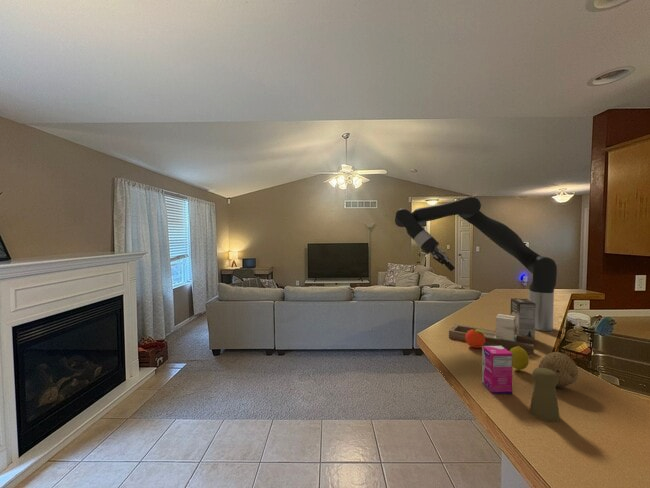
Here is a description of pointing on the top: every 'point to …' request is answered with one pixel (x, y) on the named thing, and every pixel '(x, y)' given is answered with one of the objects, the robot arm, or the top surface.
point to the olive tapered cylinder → (545, 395)
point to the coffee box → (523, 316)
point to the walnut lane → (495, 338)
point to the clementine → (475, 338)
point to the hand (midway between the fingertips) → (453, 269)
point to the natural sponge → (561, 368)
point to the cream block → (505, 326)
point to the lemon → (519, 358)
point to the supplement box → (497, 369)
